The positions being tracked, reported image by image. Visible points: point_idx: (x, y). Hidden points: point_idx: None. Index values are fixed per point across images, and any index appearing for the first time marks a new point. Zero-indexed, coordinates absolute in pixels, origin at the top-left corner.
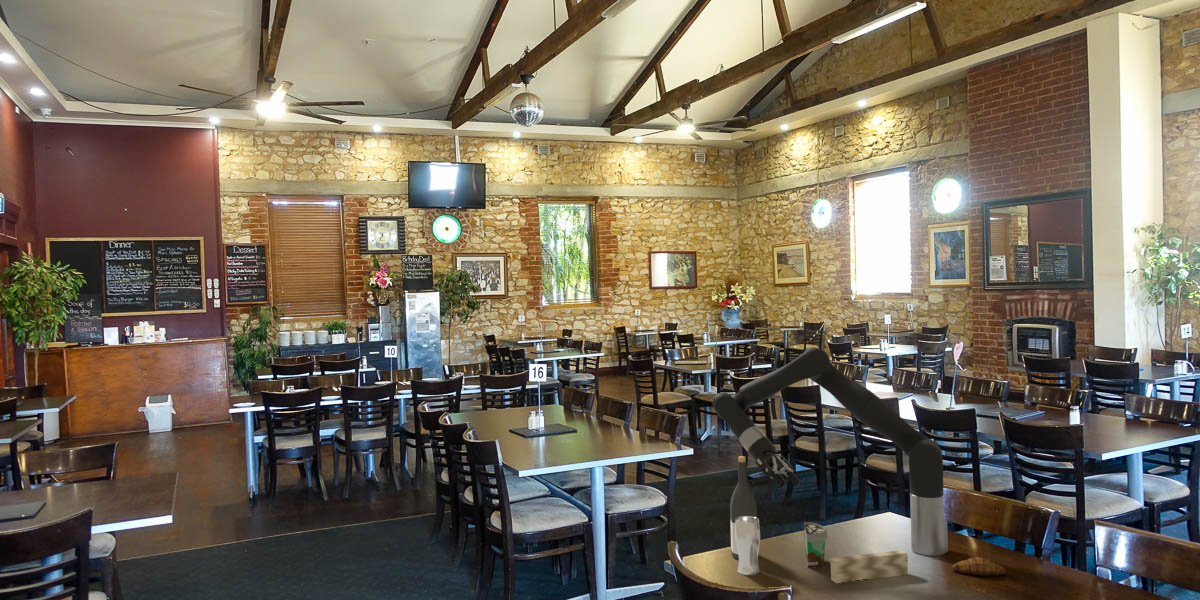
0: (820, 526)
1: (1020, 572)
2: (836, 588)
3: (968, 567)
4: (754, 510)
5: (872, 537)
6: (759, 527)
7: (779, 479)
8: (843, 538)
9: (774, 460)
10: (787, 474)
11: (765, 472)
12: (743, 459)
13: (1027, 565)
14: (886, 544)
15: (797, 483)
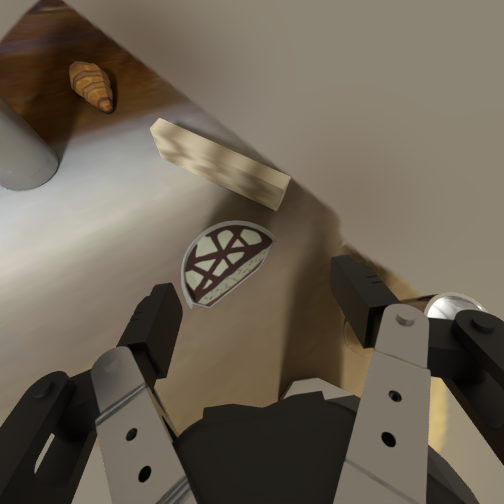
0: (187, 255)
1: (57, 62)
2: (297, 190)
3: (107, 86)
4: (354, 410)
5: None
6: (413, 300)
7: (379, 279)
8: (37, 318)
9: (377, 478)
10: (152, 386)
11: (489, 389)
12: None
13: (19, 62)
14: (28, 232)
15: (176, 296)
